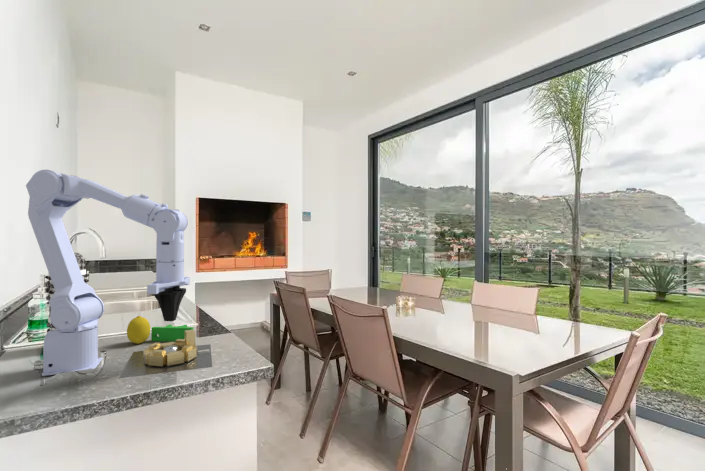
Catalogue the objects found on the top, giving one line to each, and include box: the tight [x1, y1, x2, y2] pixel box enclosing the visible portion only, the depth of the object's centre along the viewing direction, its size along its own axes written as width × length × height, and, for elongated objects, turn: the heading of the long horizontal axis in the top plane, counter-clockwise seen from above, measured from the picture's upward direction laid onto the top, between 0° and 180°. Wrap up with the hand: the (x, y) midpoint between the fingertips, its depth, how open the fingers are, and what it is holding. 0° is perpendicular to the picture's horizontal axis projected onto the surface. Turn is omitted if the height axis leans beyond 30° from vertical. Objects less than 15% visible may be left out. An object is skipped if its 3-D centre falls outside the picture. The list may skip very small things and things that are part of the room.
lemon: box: [126, 315, 151, 345], centre depth 101 cm, size 6×6×8 cm
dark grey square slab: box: [118, 343, 213, 379], centre depth 88 cm, size 18×18×3 cm
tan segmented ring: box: [142, 329, 198, 366], centre depth 88 cm, size 11×11×6 cm
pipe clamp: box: [150, 324, 194, 342], centre depth 104 cm, size 11×4×5 cm, turn 89°
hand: (170, 320), depth 86 cm, fingers closed
